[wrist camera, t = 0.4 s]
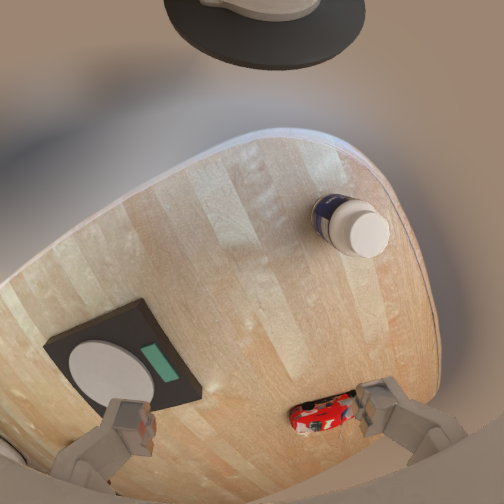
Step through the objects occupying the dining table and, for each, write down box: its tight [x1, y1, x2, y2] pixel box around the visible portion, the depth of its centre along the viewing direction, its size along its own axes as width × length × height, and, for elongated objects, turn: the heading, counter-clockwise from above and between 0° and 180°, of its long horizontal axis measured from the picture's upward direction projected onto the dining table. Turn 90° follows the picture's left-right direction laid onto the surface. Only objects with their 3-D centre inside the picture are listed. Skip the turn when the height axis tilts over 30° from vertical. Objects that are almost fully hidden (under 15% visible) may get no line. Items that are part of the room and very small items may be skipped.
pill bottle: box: [311, 194, 389, 258], centre depth 27 cm, size 5×5×10 cm
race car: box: [290, 390, 357, 433], centre depth 39 cm, size 13×5×4 cm, turn 96°
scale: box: [43, 298, 202, 418], centre depth 34 cm, size 16×19×3 cm
